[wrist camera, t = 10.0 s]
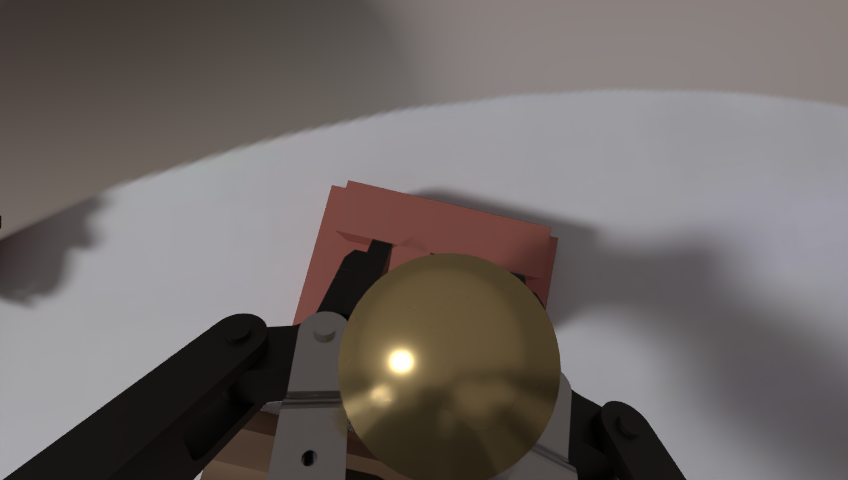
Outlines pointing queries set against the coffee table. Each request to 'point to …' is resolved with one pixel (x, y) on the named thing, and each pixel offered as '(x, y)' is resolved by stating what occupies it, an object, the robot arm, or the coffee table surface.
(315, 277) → the V-block
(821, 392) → the coffee table surface
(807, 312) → the coffee table surface
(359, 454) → the brown flat block
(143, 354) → the coffee table surface
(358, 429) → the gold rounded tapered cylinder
